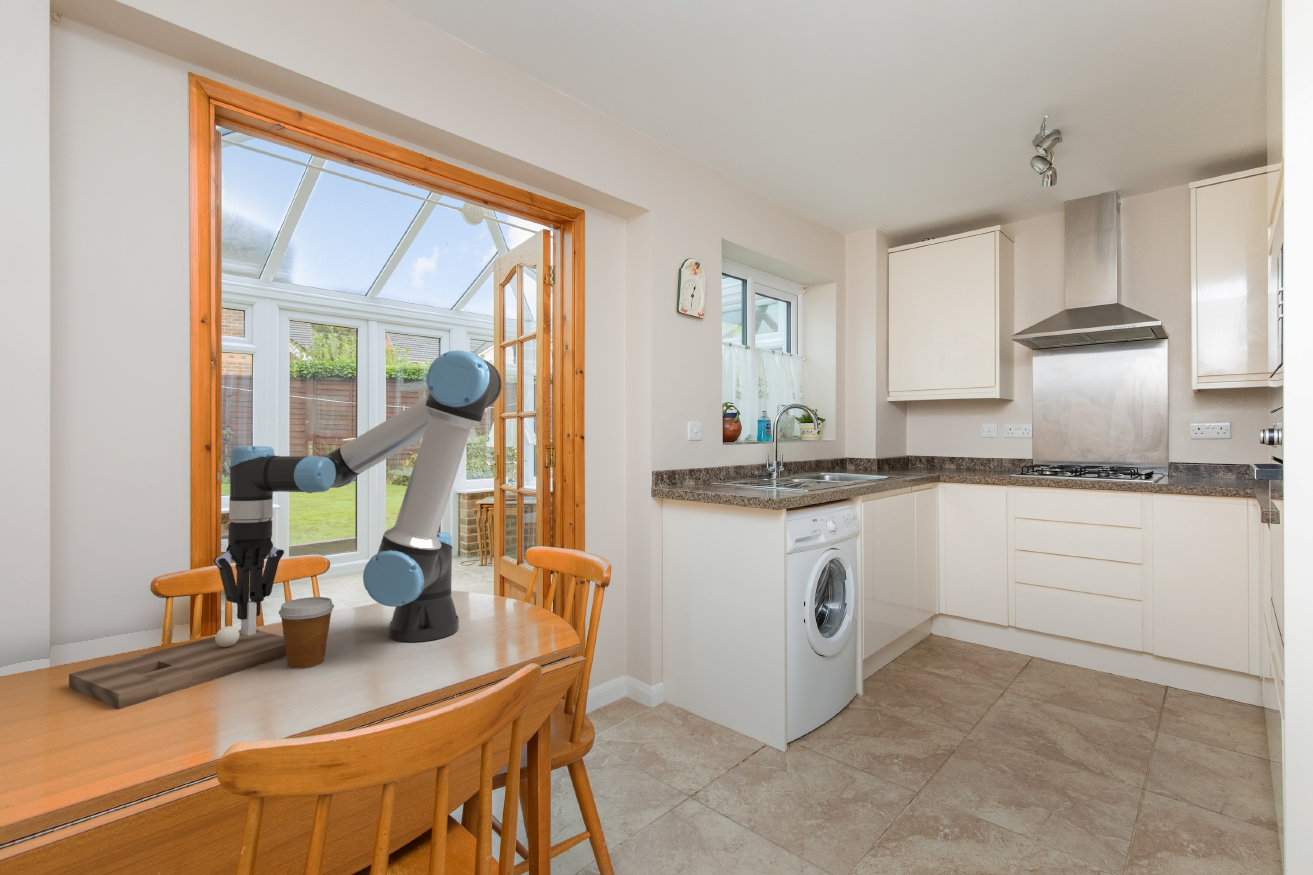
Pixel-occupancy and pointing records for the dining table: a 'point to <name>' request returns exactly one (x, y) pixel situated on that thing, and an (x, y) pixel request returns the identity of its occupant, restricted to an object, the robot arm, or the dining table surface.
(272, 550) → the robot arm
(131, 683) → the hole board
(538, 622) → the dining table surface
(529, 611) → the dining table surface
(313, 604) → the disposable coffee cup
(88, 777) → the dining table surface
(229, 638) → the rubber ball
